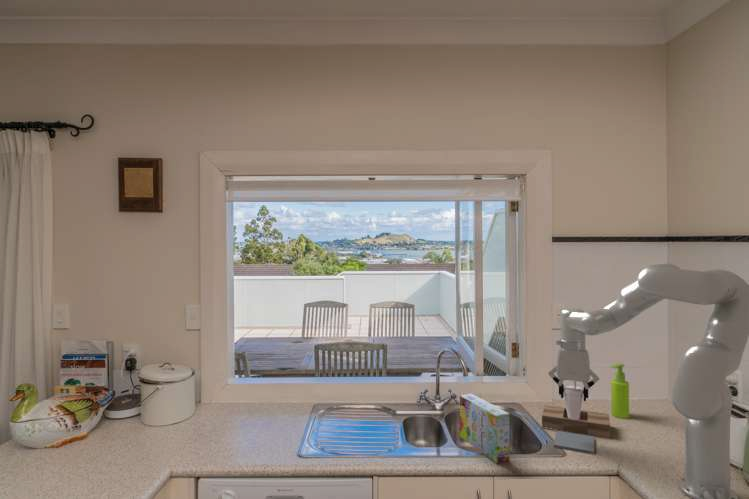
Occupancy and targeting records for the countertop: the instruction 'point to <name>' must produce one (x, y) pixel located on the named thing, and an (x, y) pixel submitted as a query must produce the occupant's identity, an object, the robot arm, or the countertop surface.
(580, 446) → the mat
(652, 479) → the countertop surface
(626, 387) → the soap dispenser
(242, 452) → the countertop surface
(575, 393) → the smoothie
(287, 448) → the countertop surface
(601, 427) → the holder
